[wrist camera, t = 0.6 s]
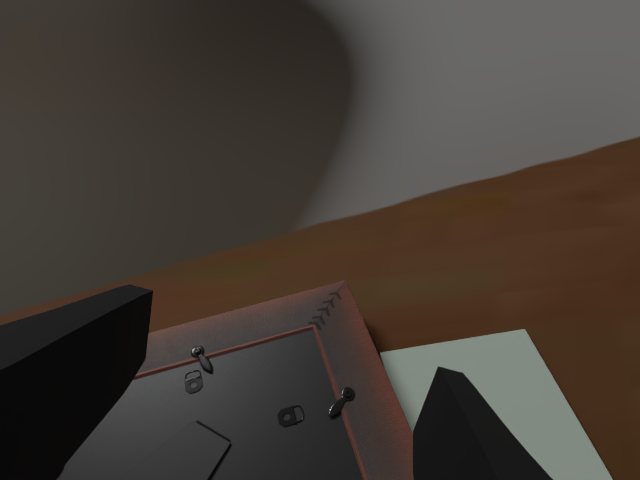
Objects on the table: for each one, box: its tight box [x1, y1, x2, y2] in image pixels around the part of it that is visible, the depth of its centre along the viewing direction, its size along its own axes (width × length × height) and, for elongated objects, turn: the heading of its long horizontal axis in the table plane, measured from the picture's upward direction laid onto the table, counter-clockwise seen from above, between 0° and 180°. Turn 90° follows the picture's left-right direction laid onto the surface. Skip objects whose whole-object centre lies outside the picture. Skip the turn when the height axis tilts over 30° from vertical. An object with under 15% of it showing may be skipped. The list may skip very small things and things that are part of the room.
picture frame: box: [53, 280, 414, 480], centre depth 25 cm, size 16×2×22 cm
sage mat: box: [380, 329, 613, 480], centre depth 25 cm, size 15×10×1 cm, turn 9°
